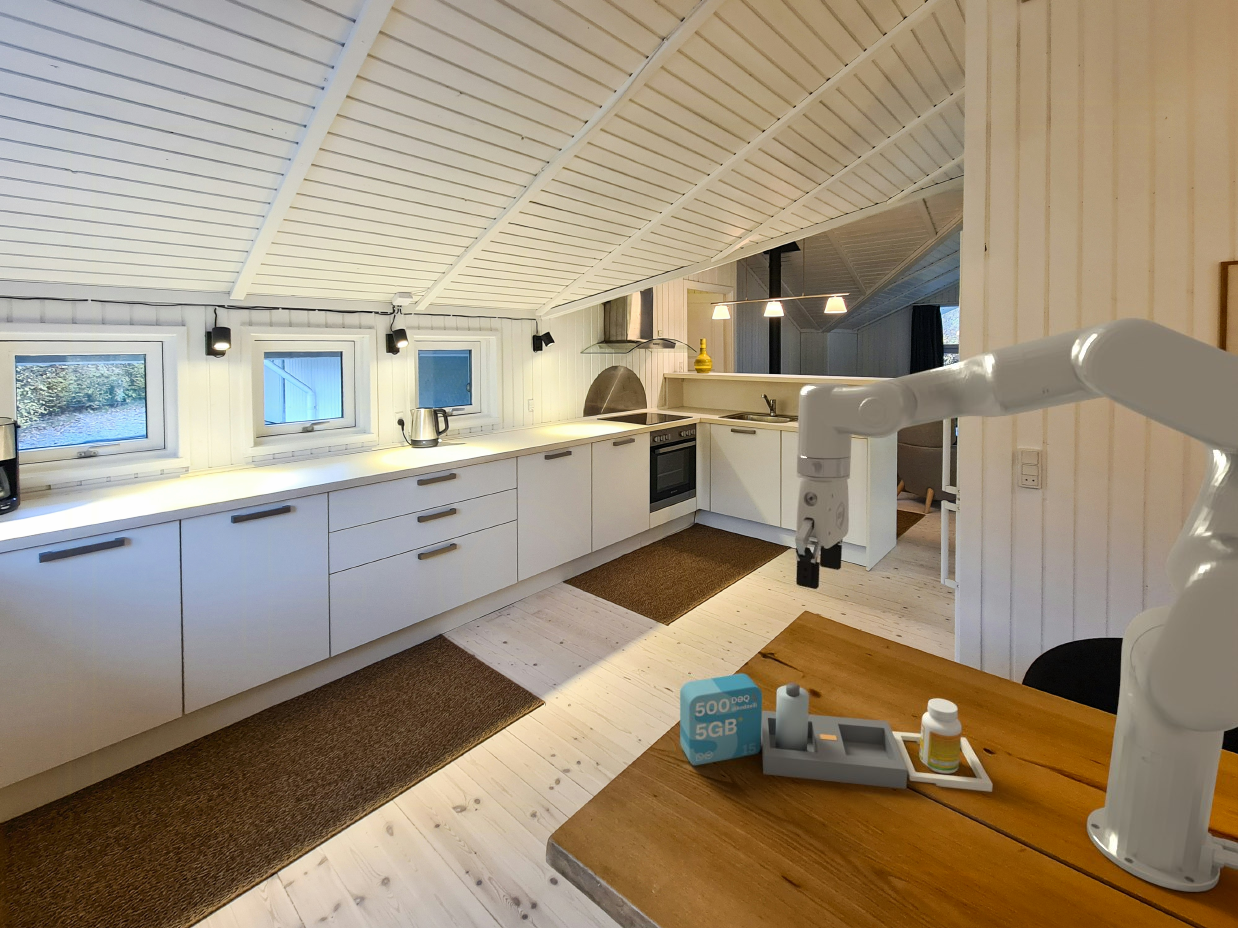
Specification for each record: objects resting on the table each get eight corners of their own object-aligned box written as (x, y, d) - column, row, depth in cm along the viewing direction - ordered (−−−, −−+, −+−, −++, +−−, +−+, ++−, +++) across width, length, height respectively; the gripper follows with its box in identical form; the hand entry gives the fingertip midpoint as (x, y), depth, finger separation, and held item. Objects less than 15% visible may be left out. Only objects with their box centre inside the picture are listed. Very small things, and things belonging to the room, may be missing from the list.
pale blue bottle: (805, 743, 99) (807, 679, 97) (808, 762, 95) (810, 695, 93) (774, 740, 100) (776, 676, 98) (776, 759, 96) (777, 693, 94)
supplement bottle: (966, 770, 93) (972, 711, 91) (938, 777, 92) (942, 718, 90) (939, 748, 98) (943, 692, 96) (911, 755, 97) (915, 698, 95)
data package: (689, 769, 95) (689, 697, 93) (679, 751, 99) (679, 682, 97) (761, 755, 98) (762, 685, 95) (748, 738, 102) (749, 671, 100)
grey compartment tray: (886, 740, 101) (887, 720, 100) (905, 791, 89) (907, 768, 88) (760, 729, 104) (761, 709, 104) (763, 776, 93) (763, 754, 92)
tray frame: (964, 744, 99) (965, 737, 99) (991, 791, 89) (992, 784, 88) (891, 737, 101) (892, 731, 101) (909, 783, 91) (910, 775, 90)
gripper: (828, 479, 83) (823, 600, 86) (866, 460, 96) (861, 565, 99) (775, 474, 87) (772, 589, 90) (819, 456, 101) (815, 557, 104)
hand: (819, 576), depth 95 cm, fingers open, 9 cm apart
